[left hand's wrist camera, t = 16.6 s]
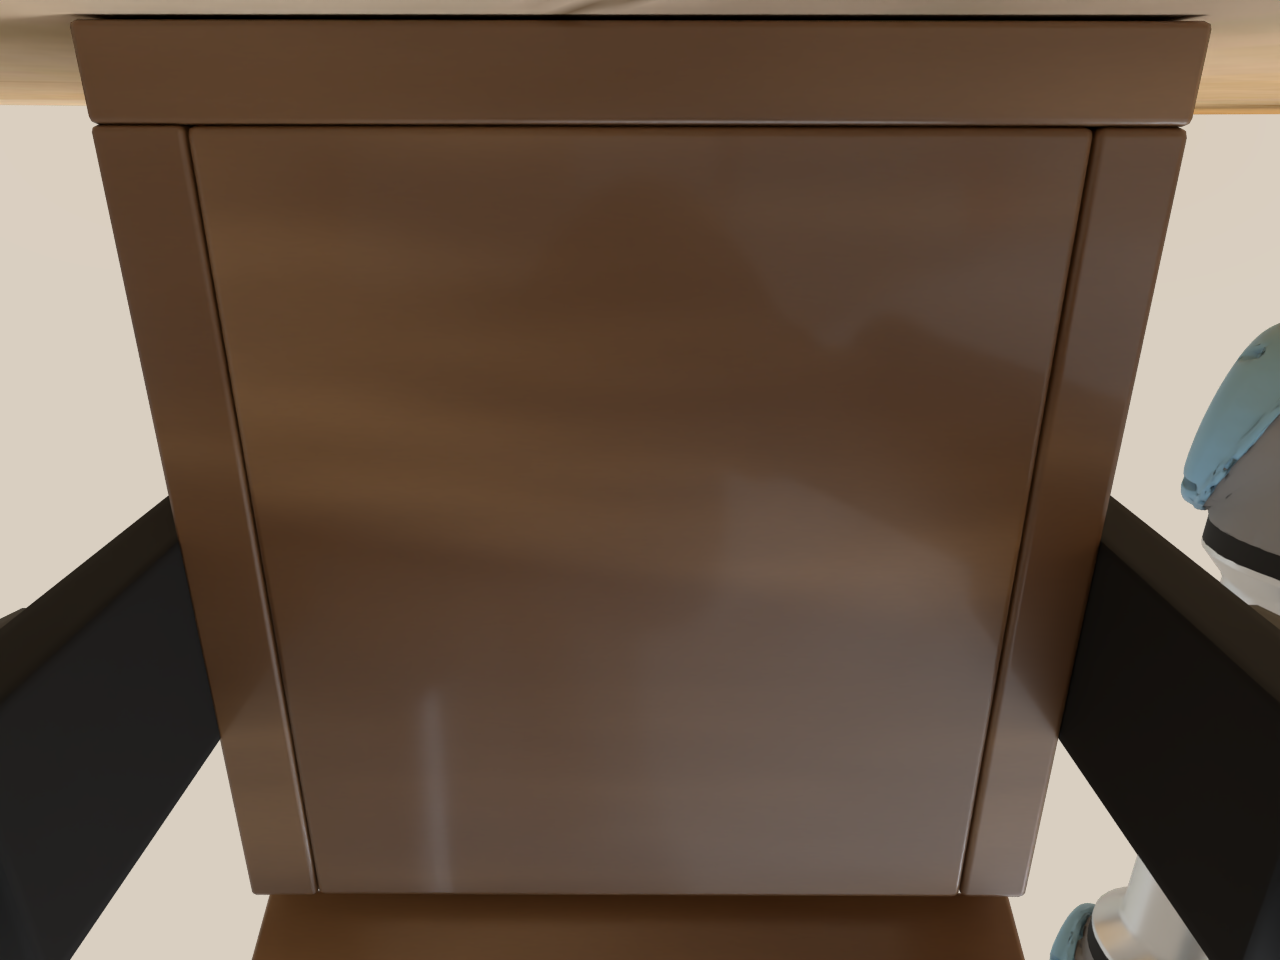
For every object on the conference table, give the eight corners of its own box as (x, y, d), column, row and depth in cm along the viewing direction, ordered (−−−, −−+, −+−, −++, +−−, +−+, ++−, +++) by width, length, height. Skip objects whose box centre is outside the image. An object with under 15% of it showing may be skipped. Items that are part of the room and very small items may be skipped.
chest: (862, 86, 21) (826, 497, 25) (422, 85, 21) (455, 496, 25) (1217, 20, 8) (1026, 899, 12) (64, 19, 8) (250, 896, 12)
